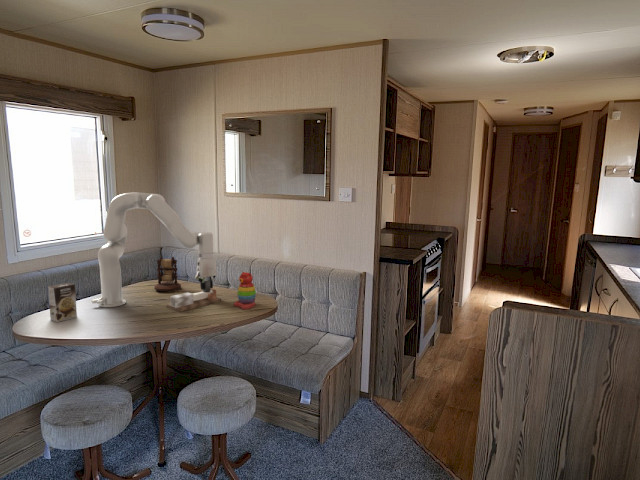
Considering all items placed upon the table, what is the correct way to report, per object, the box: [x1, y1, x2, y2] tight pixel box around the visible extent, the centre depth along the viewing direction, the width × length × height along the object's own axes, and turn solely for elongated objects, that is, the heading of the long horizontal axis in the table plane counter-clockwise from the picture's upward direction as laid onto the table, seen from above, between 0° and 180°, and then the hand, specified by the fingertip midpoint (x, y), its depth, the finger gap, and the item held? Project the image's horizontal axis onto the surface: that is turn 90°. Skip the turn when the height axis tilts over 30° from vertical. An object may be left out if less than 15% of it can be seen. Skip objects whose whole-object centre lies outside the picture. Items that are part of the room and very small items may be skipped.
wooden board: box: [165, 288, 222, 313], centre depth 224 cm, size 26×12×6 cm, turn 140°
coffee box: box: [48, 282, 78, 323], centre depth 197 cm, size 9×6×16 cm
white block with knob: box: [192, 279, 213, 301], centre depth 226 cm, size 14×4×9 cm, turn 140°
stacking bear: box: [233, 271, 257, 310], centre depth 222 cm, size 11×10×18 cm
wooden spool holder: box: [154, 256, 182, 293], centre depth 248 cm, size 15×15×20 cm
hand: (206, 288), depth 229 cm, fingers closed on white block with knob, 4 cm apart
